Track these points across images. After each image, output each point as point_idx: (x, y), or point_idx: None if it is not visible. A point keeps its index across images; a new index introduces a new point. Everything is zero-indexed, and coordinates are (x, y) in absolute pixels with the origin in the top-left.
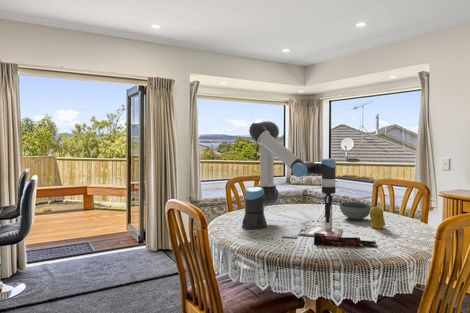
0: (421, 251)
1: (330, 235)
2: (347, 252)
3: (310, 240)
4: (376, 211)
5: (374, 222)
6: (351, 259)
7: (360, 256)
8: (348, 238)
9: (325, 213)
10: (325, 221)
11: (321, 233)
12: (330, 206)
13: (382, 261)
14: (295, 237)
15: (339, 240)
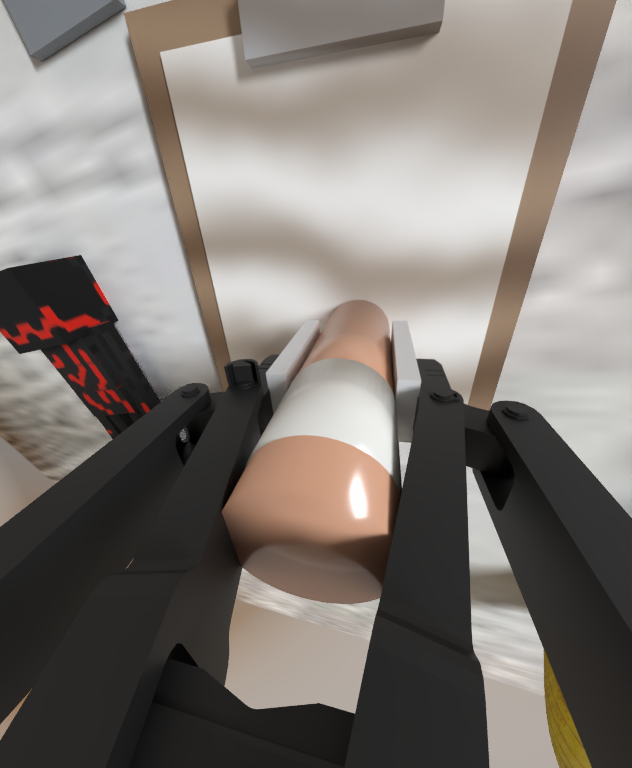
0: (238, 592)
1: (238, 355)
2: (71, 426)
3: (90, 220)
4: (555, 742)
5: None
6: (20, 433)
7: (70, 460)
8: None
9: (156, 412)
10: (287, 346)
11: (49, 325)
12: (304, 579)
13: None
14: (22, 37)
15: (114, 414)
